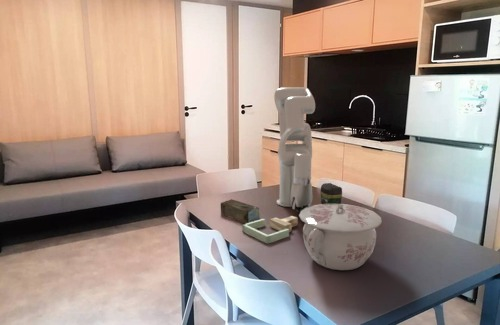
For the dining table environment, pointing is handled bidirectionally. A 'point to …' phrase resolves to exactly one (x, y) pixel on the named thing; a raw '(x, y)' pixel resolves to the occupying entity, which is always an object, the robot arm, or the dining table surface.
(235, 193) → the dining table surface
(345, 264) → the chamber pot
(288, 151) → the robot arm
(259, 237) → the dock
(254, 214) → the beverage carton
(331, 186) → the coffee jar
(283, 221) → the t block
